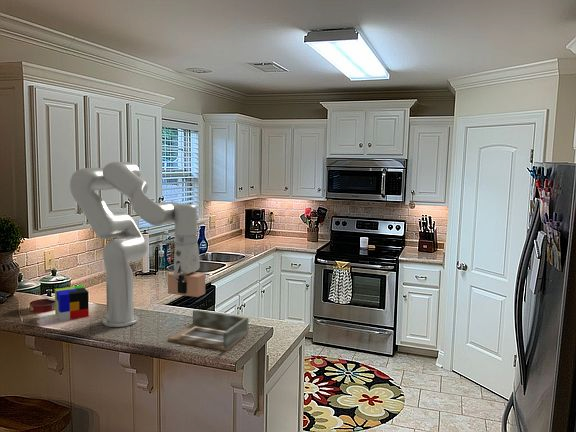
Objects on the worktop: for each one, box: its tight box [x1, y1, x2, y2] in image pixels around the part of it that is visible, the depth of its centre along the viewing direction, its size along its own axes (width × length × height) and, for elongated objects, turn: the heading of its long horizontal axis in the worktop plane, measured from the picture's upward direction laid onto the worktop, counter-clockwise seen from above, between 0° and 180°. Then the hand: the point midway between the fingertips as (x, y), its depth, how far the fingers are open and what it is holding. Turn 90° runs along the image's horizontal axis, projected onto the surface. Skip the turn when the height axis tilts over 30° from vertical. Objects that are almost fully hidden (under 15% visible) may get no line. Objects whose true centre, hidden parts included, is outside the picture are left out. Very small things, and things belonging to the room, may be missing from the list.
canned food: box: [29, 289, 55, 314], centre depth 191 cm, size 11×10×10 cm
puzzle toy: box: [54, 285, 90, 322], centre depth 184 cm, size 10×10×10 cm
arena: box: [167, 309, 250, 352], centre depth 165 cm, size 22×17×6 cm
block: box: [167, 271, 206, 298], centre depth 166 cm, size 12×5×7 cm, turn 71°
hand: (186, 290), depth 166 cm, fingers closed on block, 5 cm apart
